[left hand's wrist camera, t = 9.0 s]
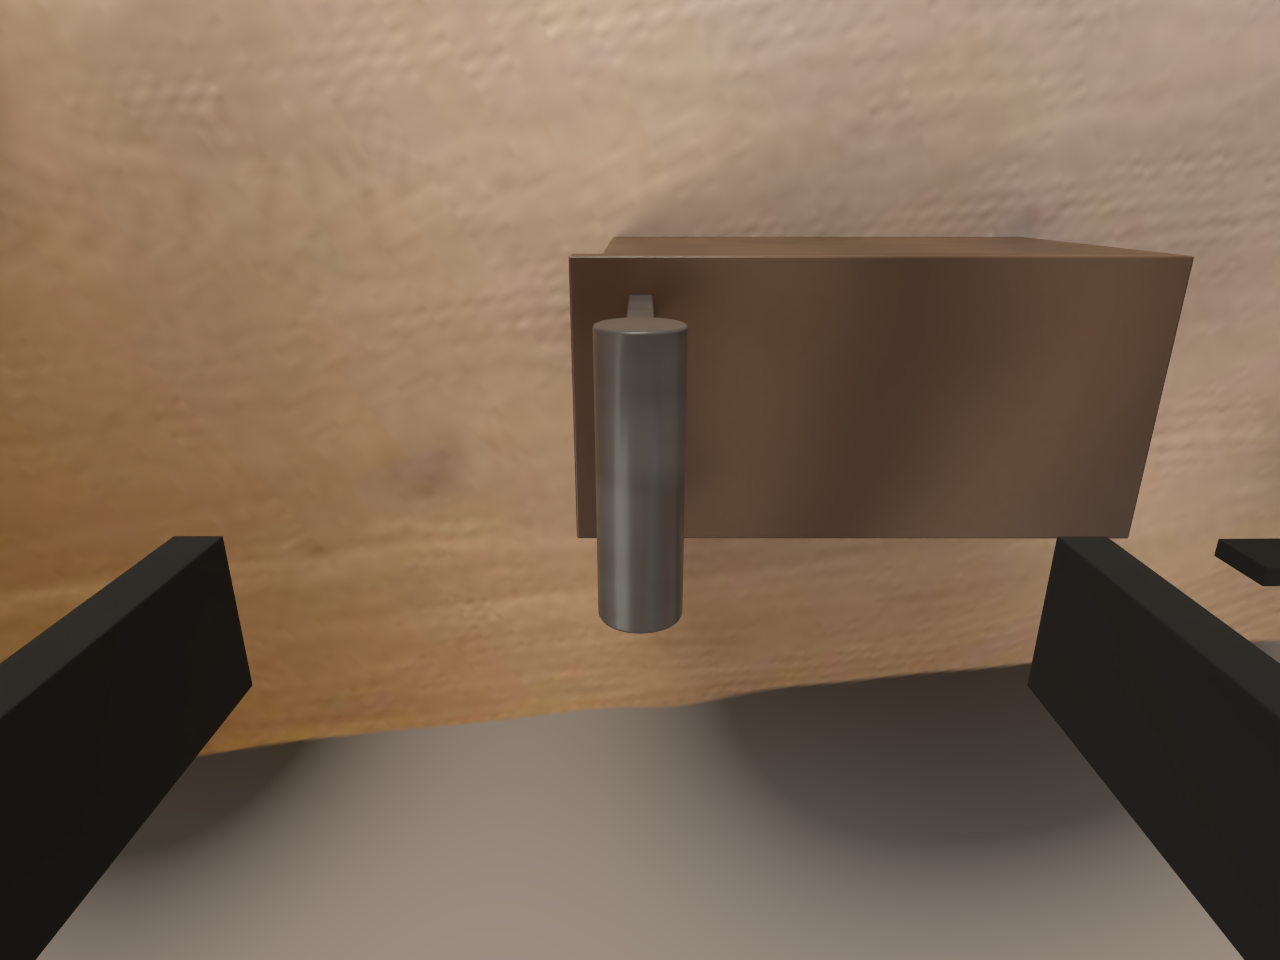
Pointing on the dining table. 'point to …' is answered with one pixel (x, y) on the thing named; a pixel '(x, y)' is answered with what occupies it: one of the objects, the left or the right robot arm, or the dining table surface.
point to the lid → (857, 401)
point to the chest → (854, 245)
